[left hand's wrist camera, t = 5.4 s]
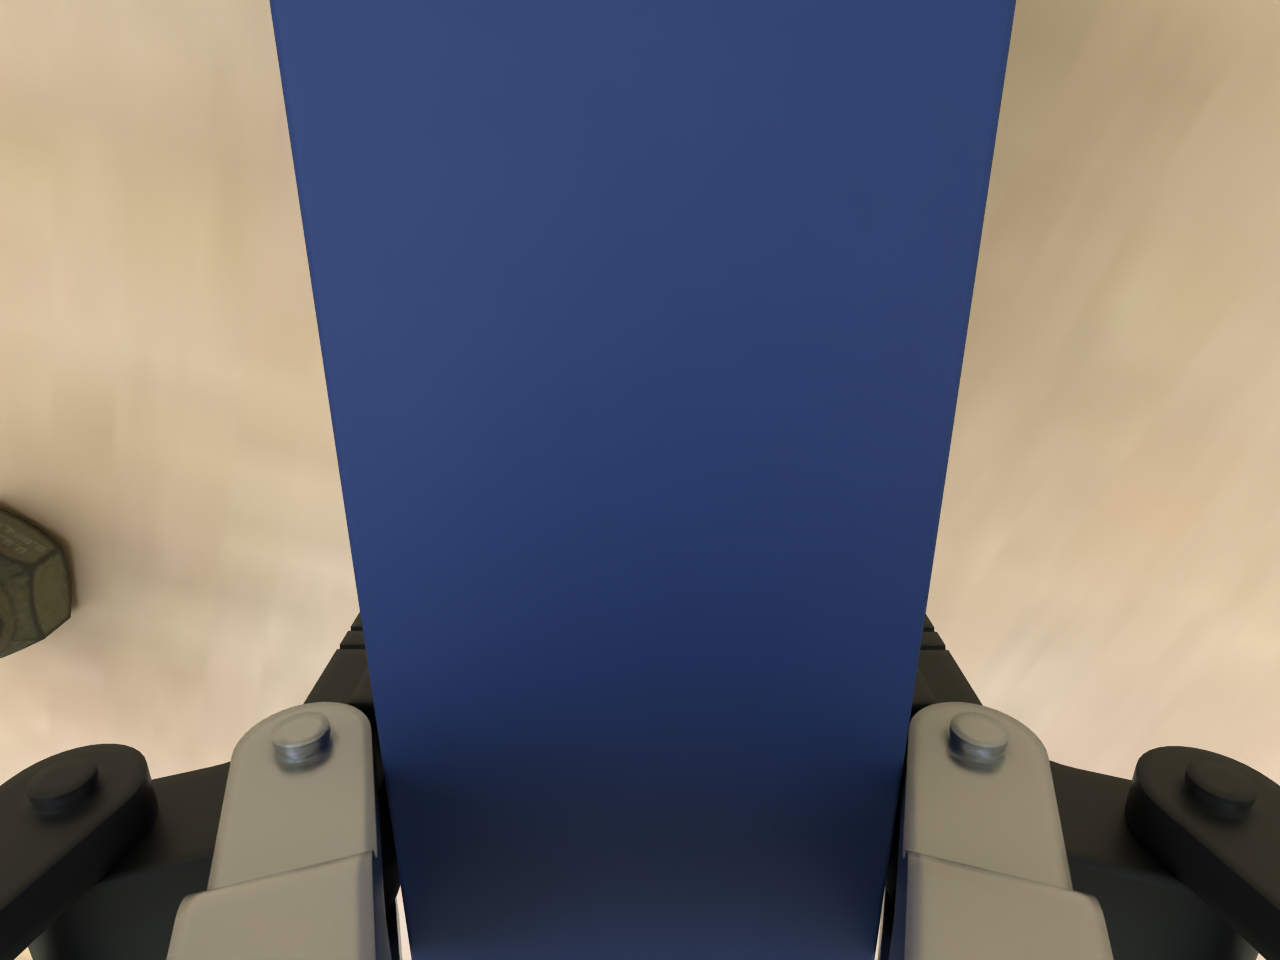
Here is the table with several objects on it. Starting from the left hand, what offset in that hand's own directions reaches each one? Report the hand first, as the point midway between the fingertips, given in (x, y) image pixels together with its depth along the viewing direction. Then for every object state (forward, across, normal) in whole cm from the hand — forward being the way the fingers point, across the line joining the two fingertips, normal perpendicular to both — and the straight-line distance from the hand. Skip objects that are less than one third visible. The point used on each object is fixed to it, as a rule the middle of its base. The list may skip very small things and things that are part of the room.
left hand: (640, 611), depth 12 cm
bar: (+4, 0, -9) cm, 10 cm away
